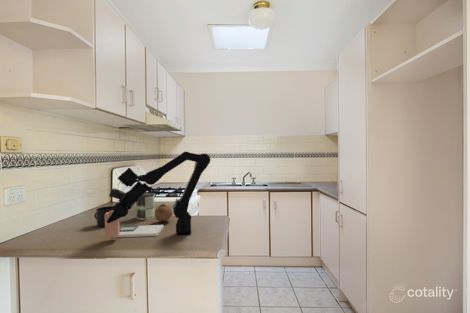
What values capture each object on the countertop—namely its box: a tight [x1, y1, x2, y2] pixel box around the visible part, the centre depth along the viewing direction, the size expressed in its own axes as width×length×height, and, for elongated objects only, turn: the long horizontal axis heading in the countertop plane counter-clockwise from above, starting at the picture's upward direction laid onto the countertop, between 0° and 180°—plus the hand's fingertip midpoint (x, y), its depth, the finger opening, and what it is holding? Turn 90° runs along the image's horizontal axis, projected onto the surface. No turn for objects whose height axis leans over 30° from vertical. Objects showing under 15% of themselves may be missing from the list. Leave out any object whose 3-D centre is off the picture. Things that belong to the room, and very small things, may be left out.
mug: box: [94, 205, 114, 228], centre depth 138 cm, size 9×12×9 cm
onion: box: [154, 203, 173, 223], centre depth 141 cm, size 10×9×10 cm
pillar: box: [104, 211, 121, 239], centre depth 112 cm, size 5×5×11 cm
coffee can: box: [135, 192, 155, 221], centre depth 152 cm, size 10×10×14 cm
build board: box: [112, 224, 164, 239], centre depth 124 cm, size 20×14×2 cm
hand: (108, 220), depth 112 cm, fingers closed on pillar, 5 cm apart
